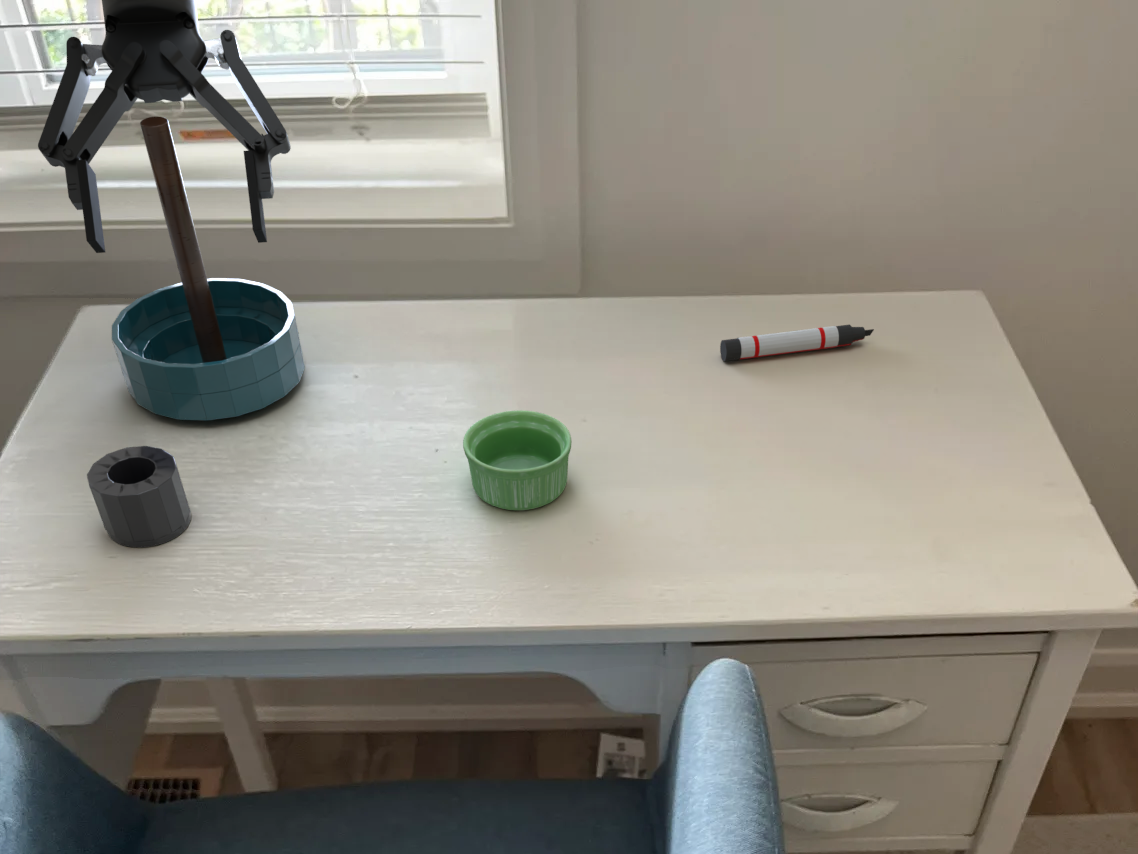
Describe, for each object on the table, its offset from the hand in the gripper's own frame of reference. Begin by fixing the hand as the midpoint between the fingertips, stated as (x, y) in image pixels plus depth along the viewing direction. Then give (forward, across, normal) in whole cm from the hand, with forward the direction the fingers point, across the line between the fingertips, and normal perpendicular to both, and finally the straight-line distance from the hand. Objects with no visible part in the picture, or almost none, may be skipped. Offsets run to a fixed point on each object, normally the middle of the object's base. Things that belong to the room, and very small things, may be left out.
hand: (178, 242), depth 101 cm
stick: (+8, 0, -11) cm, 13 cm away
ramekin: (+23, -26, +4) cm, 35 cm away
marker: (+11, -56, -9) cm, 57 cm away
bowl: (+9, 0, -11) cm, 14 cm away
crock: (+24, +4, +4) cm, 25 cm away
